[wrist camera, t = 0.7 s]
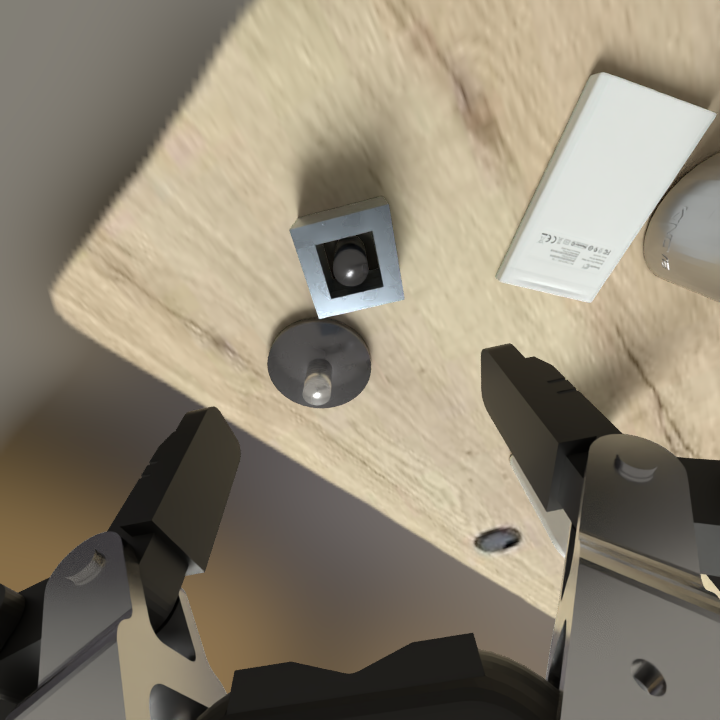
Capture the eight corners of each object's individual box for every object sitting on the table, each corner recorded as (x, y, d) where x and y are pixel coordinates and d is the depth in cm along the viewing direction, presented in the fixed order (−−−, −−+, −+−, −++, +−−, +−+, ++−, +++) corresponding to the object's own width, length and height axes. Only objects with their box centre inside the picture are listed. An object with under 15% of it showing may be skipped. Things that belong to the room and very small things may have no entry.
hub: (357, 306, 26) (359, 333, 22) (379, 390, 31) (383, 424, 27) (253, 330, 27) (238, 360, 23) (290, 409, 32) (282, 443, 28)
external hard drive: (696, 116, 20) (581, 296, 27) (584, 76, 19) (492, 275, 26) (721, 113, 19) (593, 304, 26) (603, 70, 18) (500, 282, 24)
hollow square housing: (382, 195, 22) (388, 204, 18) (396, 279, 25) (404, 299, 22) (297, 218, 22) (289, 229, 19) (322, 296, 26) (319, 319, 22)
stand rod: (361, 231, 23) (364, 247, 19) (367, 261, 24) (371, 281, 20) (331, 239, 23) (328, 256, 19) (339, 268, 24) (338, 289, 21)
